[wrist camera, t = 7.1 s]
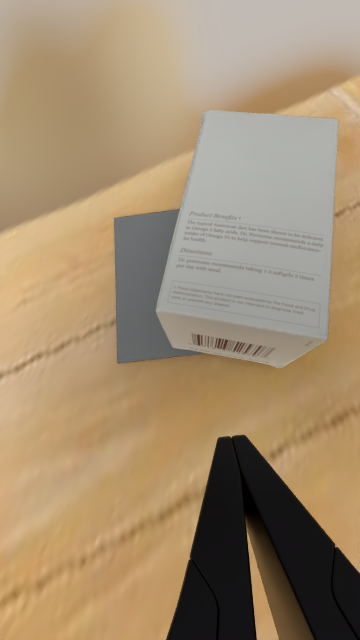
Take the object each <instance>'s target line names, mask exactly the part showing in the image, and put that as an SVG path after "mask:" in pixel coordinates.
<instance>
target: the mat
mask: <svg viewBox="0 0 360 640" xmlns="http://www.w3.org/2000/svg"><path fill="white" fill-rule="evenodd" d="M179 211H180V209H178V210H171V211H163V212H156V213H148V214H141V215H134V216H126V217H119V218H114V231H115V276H116V322H117V363H125V362H134V361H143V360H151V359H160V358H169V357H178V356H186V355H195V354H204V353H203V352H197V351H192V350H184V349H177V348H173V347H172V345H171V343H170V341H169V339H168V337H167V335H166V333H165V331H164V329H163V327H162V325H161V323H160V320H159V318H158V316H157V314H156V307H157V302H158V297H159V293H160V288H161V285H162V281H163V277H164V273H165V268H166V264H167V260H168V255H169V251H170V246H171V242H172V238H173V234H174V230H175V226H176V222H177V219H178V215H179Z"/></svg>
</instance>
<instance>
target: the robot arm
mask: <svg viewBox="0 0 360 640" xmlns="http://www.w3.org/2000/svg"><path fill="white" fill-rule="evenodd" d="M246 527H247V530H246ZM247 531H248V534H249V537H250V541H251V544H252V548H253V551H254V555H255V558H256V561H257V565H258V568H259V572H260V575H261V579H262V582H263V585H264V589H265V592H266V596H267V599H268V603H269V606H270V609H271V613H272V616H273V620H274V623H275V627H276V630H277V634H278V637H279V640H360V573H359V572H358V571H357V569H356V568H355V567H354V566H353V565H352V564H351V562H350V561H349V560H348V559H347V558H346V556H345V555H344V554H343V553H342V552H341V550H340V549H339V548H338V547H335V543H334V542H333V541H332V540H331V538H330V537H329V536H328V535H327V534H326V532H325V531H324V530H323V529H322V528H321V526H320V525H319V524H318V523H317V521H316V520H315V519H314V518H313V517H312V515H311V514H310V513H309V512H308V511H307V509H306V508H305V507H304V506H303V504H302V503H301V502H300V501H299V500H298V498H297V497H296V496H295V495H294V494H293V492H292V491H291V490H290V489H289V488H288V486H287V485H286V484H285V483H284V481H283V480H282V479H281V478H280V477H279V475H278V474H277V473H276V472H275V471H274V469H273V468H272V467H271V466H270V464H269V463H268V462H267V461H266V460H265V458H264V457H263V456H262V455H261V454H260V452H259V451H258V450H257V449H256V448H255V446H254V445H253V444H252V443H251V441H250V440H249V439H248V438H247V437H246V436H245V435H236V436H233V437H232V438H231V437H230V436H226V437H219V438H218V439H217V443H216V447H215V452H214V456H213V460H212V464H211V468H210V473H209V477H208V481H207V485H206V490H205V494H204V498H203V502H202V506H201V511H200V515H199V519H198V523H197V527H196V532H195V536H194V540H193V544H192V549H191V553H190V559H189V561H188V565H187V569H186V573H185V577H184V581H183V585H182V588H181V592H180V596H179V600H178V603H177V607H176V610H175V613H174V617H173V620H172V623H171V626H170V629H169V632H168V635H167V639H166V640H257V638H256V627H255V616H254V606H253V595H252V584H251V573H250V563H249V552H248V541H247Z"/></svg>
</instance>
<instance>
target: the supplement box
mask: <svg viewBox="0 0 360 640" xmlns="http://www.w3.org/2000/svg"><path fill="white" fill-rule="evenodd" d="M337 138H338V119H336V118H318V117H302V116H288V115H278V114H258V113H244V112H227V111H215V110H207V111H205V112H204V113H203V116H202V122H201V127H200V132H199V137H198V140H197V144H196V148H195V152H194V156H193V160H192V164H191V168H190V172H189V176H188V180H187V183H186V187H185V191H184V195H183V199H182V203H181V207H180V211H179V215H178V219H177V222H176V226H175V230H174V234H173V238H172V242H171V246H170V251H169V255H168V260H167V264H166V268H165V273H164V277H163V281H162V285H161V288H160V293H159V297H158V302H157V307H156V314H157V316H158V318H159V320H160V323H161V325H162V327H163V329H164V331H165V333H166V335H167V337H168V339H169V341H170V343H171V345H172V347H173V348H177V349H184V350H192V351H197V352H203V353H208V354H214V355H220V356H225V357H231V358H236V359H242V360H247V361H253V362H258V363H263V364H267V365H270V366H273V367H275V368H282V367H284V366H286V365H287V364H289V363H291V362H293V361H294V360H296V359H298V358H299V357H301V356H303V355H304V354H306V353H307V352H309V351H311V350H312V349H314V348H316V347H317V346H319V345H321V344H322V343H323V342H325V341H326V340H327V339H328V324H329V304H330V282H331V262H332V239H333V220H334V199H335V179H336V160H337Z"/></svg>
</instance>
